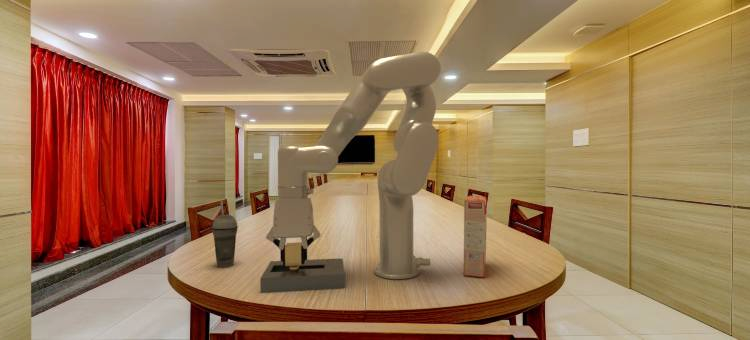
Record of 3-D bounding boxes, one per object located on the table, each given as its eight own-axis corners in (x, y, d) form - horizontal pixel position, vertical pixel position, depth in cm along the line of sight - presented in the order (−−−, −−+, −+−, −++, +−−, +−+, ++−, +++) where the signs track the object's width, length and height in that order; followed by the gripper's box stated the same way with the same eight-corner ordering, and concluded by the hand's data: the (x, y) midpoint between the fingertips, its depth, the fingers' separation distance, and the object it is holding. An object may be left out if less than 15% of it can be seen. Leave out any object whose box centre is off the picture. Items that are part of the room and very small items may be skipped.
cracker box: (486, 278, 89) (486, 200, 88) (462, 276, 90) (462, 199, 90) (486, 264, 102) (486, 195, 102) (466, 262, 104) (466, 195, 103)
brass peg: (303, 277, 90) (303, 242, 90) (302, 283, 85) (301, 246, 85) (286, 278, 89) (286, 242, 89) (284, 284, 85) (284, 246, 85)
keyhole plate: (342, 270, 96) (342, 258, 96) (344, 288, 82) (344, 273, 82) (270, 273, 93) (270, 261, 93) (260, 292, 79) (260, 277, 79)
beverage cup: (228, 269, 97) (227, 201, 96) (206, 268, 98) (205, 200, 98) (243, 262, 104) (242, 198, 104) (222, 261, 105) (221, 198, 105)
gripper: (325, 191, 92) (326, 258, 92) (262, 193, 89) (263, 260, 90) (325, 194, 84) (326, 266, 85) (256, 195, 82) (257, 269, 82)
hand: (294, 262), depth 87 cm, fingers closed on brass peg, 4 cm apart
